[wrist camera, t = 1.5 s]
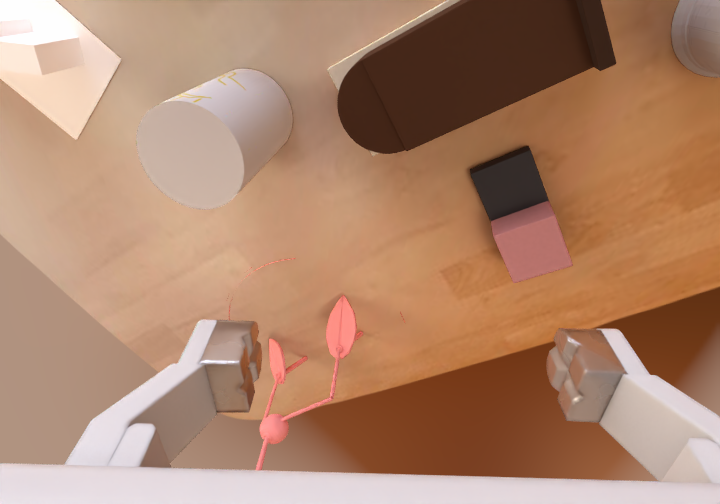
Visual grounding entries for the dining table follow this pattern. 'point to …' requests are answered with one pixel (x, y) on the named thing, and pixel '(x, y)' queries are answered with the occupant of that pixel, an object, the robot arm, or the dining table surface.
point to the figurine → (339, 344)
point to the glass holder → (697, 36)
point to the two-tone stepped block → (521, 215)
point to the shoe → (464, 66)
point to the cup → (214, 137)
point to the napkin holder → (53, 61)
